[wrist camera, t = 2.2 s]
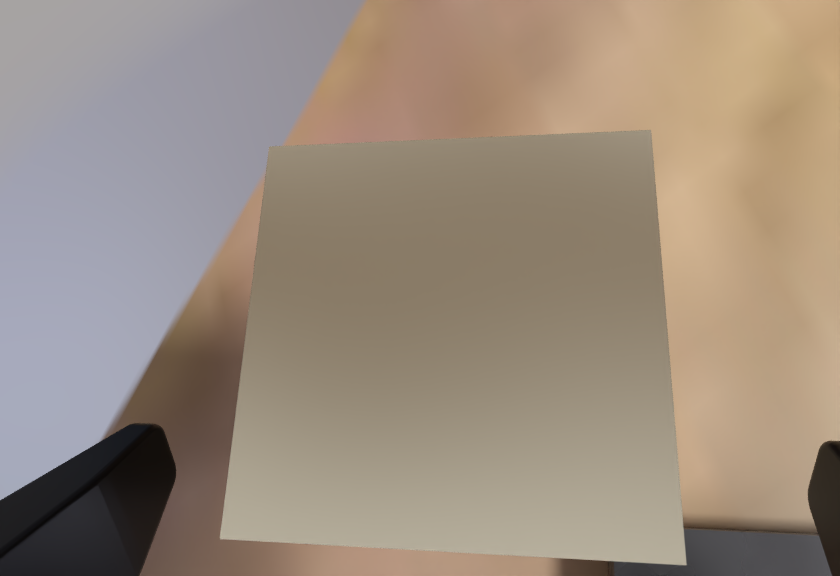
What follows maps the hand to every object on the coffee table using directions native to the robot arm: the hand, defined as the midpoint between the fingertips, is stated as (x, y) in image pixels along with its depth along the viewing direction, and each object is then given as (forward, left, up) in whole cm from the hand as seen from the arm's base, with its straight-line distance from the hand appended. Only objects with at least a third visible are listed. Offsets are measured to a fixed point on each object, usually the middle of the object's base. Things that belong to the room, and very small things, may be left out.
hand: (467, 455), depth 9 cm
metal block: (+1, 0, -9) cm, 9 cm away
